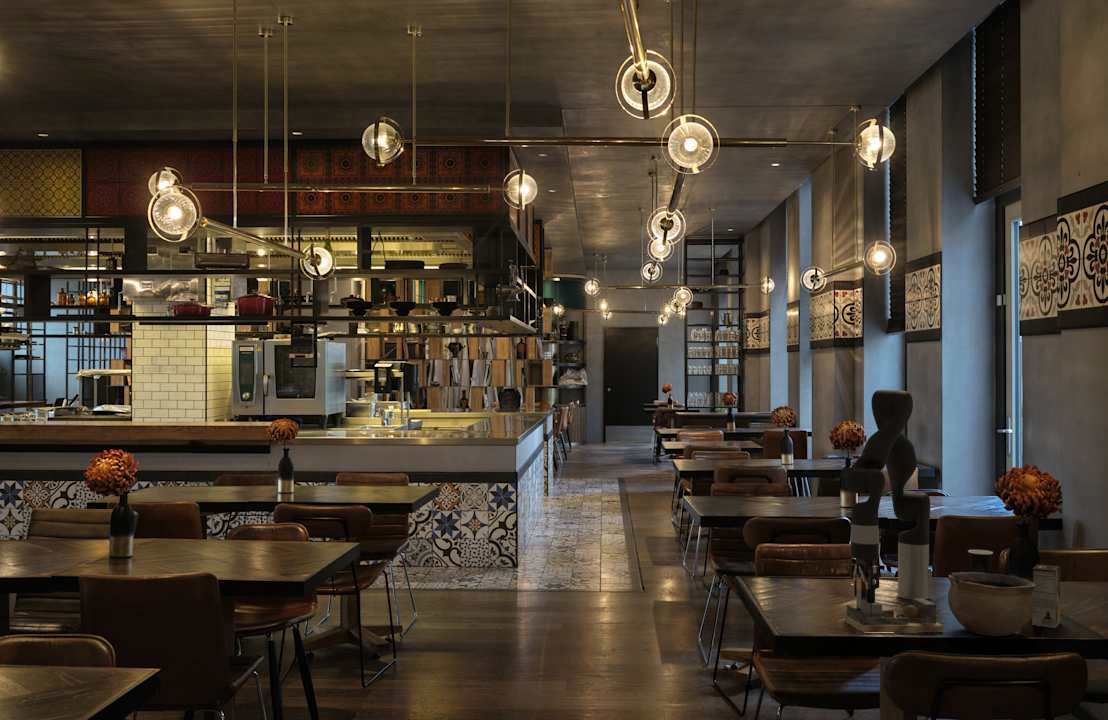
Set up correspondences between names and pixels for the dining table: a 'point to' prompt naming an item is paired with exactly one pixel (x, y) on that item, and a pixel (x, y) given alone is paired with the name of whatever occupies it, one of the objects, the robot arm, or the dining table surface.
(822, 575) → the dining table surface
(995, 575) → the ceramic bowl
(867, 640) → the dining table surface
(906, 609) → the walnut
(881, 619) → the base
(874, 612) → the lever
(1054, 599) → the coffee box
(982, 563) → the dixie cup
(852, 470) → the robot arm
